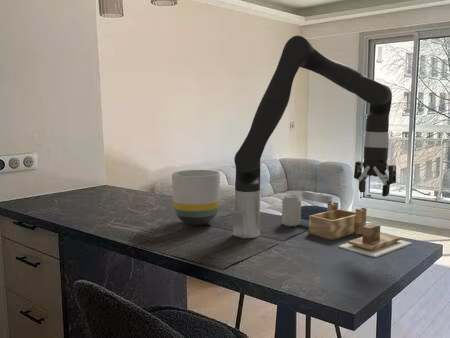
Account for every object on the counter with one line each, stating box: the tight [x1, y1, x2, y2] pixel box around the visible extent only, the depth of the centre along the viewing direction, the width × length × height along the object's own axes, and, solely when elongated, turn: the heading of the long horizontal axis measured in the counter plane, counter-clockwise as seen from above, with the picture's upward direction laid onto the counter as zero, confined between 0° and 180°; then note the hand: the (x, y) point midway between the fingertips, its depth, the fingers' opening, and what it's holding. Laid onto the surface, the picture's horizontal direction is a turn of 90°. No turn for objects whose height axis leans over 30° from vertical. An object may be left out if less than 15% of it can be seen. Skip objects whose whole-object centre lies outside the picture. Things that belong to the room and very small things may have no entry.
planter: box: [171, 169, 221, 226], centre depth 179 cm, size 20×20×21 cm
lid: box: [348, 223, 402, 251], centre depth 149 cm, size 18×9×7 cm, turn 129°
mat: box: [338, 239, 413, 259], centre depth 150 cm, size 22×14×1 cm, turn 129°
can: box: [281, 194, 302, 227], centre depth 178 cm, size 8×8×12 cm
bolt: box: [301, 190, 333, 205], centre depth 180 cm, size 2×14×3 cm, turn 39°
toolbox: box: [308, 201, 368, 241], centre depth 166 cm, size 18×15×10 cm
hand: (373, 194), depth 145 cm, fingers open, 8 cm apart
